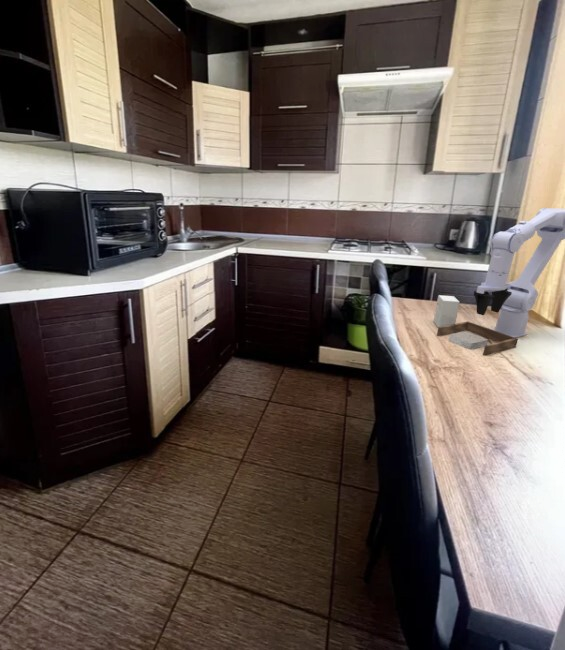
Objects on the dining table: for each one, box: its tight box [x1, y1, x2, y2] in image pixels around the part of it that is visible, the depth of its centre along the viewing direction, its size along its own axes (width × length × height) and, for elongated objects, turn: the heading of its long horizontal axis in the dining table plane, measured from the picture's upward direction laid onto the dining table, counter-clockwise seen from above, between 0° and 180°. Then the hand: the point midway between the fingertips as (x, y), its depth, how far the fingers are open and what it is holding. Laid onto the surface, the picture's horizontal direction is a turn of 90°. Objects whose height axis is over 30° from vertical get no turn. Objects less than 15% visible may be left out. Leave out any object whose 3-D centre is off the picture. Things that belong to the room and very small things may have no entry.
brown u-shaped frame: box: [436, 321, 519, 356], centre depth 113 cm, size 15×18×3 cm
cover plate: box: [448, 331, 489, 351], centre depth 112 cm, size 8×8×2 cm
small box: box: [433, 294, 461, 328], centre depth 126 cm, size 8×6×10 cm
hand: (487, 313), depth 112 cm, fingers open, 7 cm apart
